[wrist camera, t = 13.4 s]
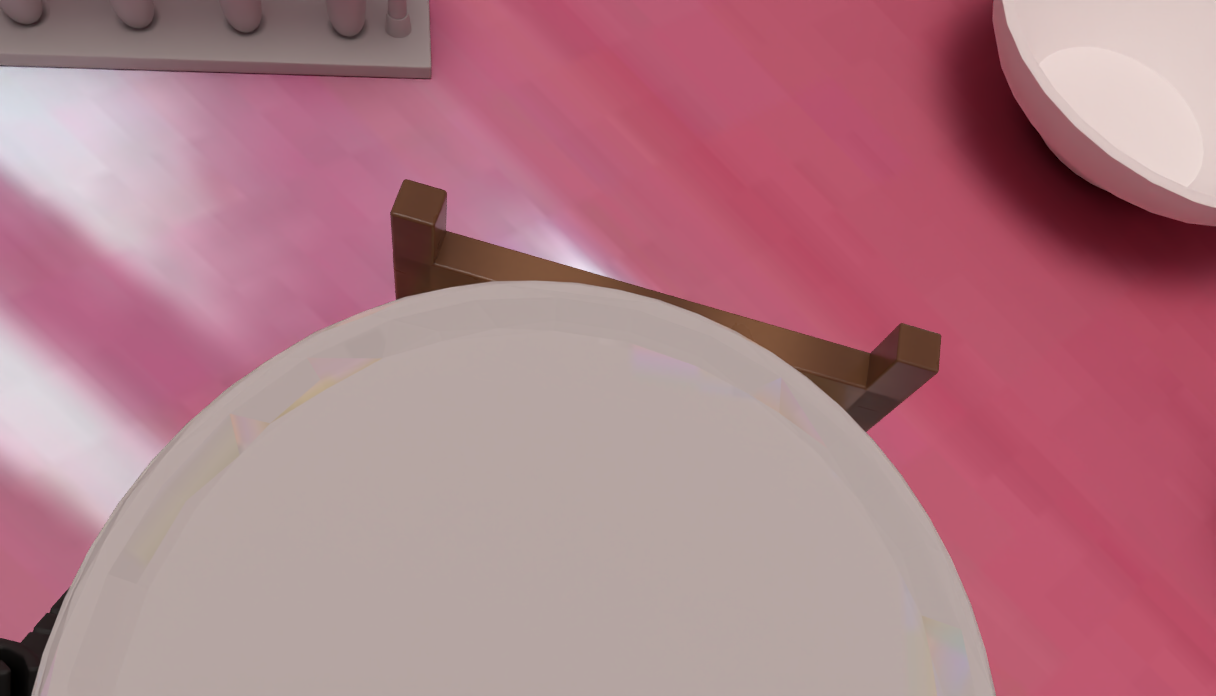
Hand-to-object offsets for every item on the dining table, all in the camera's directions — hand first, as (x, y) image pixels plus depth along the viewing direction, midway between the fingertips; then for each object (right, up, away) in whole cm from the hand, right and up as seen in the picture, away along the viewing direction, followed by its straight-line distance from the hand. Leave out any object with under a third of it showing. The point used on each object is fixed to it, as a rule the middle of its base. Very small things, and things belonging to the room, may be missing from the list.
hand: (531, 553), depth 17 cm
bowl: (+27, +15, +33) cm, 45 cm away
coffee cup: (-1, -5, +2) cm, 5 cm away
